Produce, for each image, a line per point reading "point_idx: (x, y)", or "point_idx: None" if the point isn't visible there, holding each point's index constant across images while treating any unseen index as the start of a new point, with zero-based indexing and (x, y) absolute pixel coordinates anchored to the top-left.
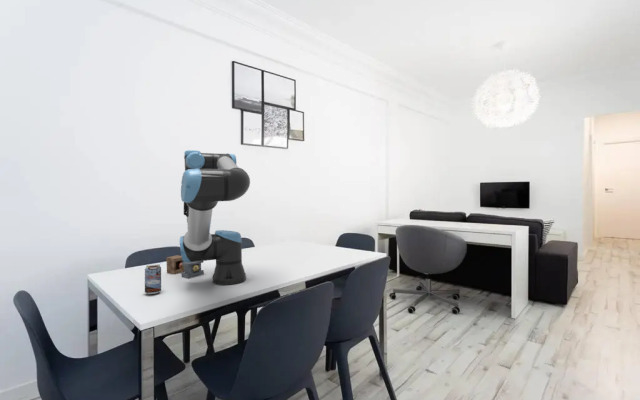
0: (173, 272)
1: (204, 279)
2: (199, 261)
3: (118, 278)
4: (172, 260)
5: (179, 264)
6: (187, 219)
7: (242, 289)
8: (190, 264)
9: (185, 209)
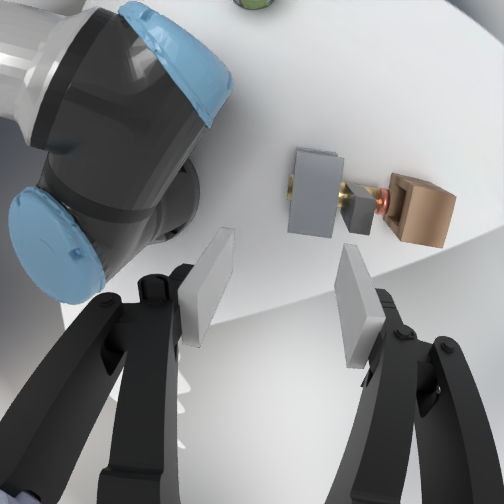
0: (397, 175)
1: (233, 163)
2: (290, 212)
3: (500, 89)
4: (417, 185)
5: (387, 193)
6: (374, 296)
7: None
8: (295, 164)
9: (448, 397)
